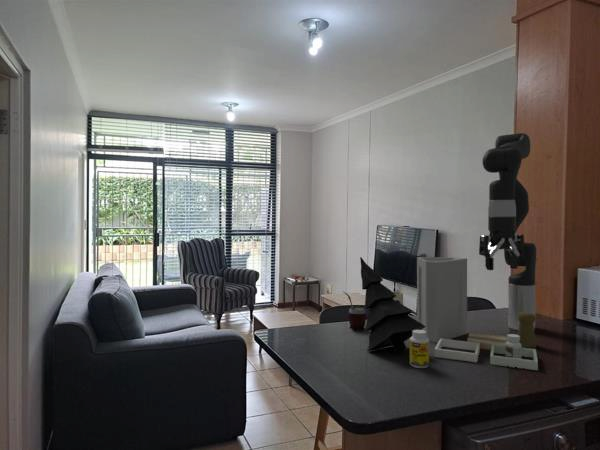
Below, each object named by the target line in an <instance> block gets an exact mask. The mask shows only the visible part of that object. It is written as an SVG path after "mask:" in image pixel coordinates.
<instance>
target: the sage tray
mask: <svg viewBox="0 0 600 450" xmlns="http://www.w3.org/2000/svg"><path fill="white" fill-rule="evenodd" d="M495 354H501V355H505V346H502V345H493V344H492V347H491V350H490V356H489V359H490V361H489V363H490V365H493V366H501V367H507V366H509V368H515V367H517V368H516V369H523V368H524V370H525V369H526V370H533V371H539V362H538V361H539V360H538V356H537V355H538V354H537V349H536V348H526V347H522V357H525V358H532V360H531V359H524V358H522V359H517V358H509V357H505V356H500V355H495Z"/></svg>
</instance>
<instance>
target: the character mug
mask: <svg viewBox="0 0 600 450" xmlns="http://www.w3.org/2000/svg"><path fill="white" fill-rule="evenodd" d="M391 291H392V290H391ZM392 292H393V293H394V294H395V295H396V297H394V298H393V300H395V301H397V302H399V303H400V304H402V305H404V293H403V292H401V291H397V290H396V291H395V290H394V291H392Z"/></svg>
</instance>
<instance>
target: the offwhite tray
mask: <svg viewBox="0 0 600 450" xmlns="http://www.w3.org/2000/svg"><path fill="white" fill-rule="evenodd" d="M443 347H444V348H445V349H444V348H443ZM442 348H443V349H442ZM446 348H451V350H450V349H446ZM452 349H458V350H452ZM460 350H465V351H460ZM466 350H468V351H473V352H468V351H466ZM480 351H481V349H480V343H476V342H467V340H457V339H456V340H455V339H441V338H440V340H439V342H438V343H436V346H435V347H434V357H435V358H440V359H447V360H448V359H449V360H455V361H463V362H471V363H478V361H479V357H478V356H479V355H480Z"/></svg>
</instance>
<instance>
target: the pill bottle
mask: <svg viewBox="0 0 600 450" xmlns="http://www.w3.org/2000/svg"><path fill="white" fill-rule="evenodd" d="M506 336H507V342H506V344H505V354H504V355H505V356H504V357H509V358H517V359H523V358H522V357H523V356H522V348H523V347H522V345H521V343H519V341H520V336H519V335H518V334H516V333H515V334H514V333H510V334H509V333H508V334H507V335H506Z"/></svg>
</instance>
